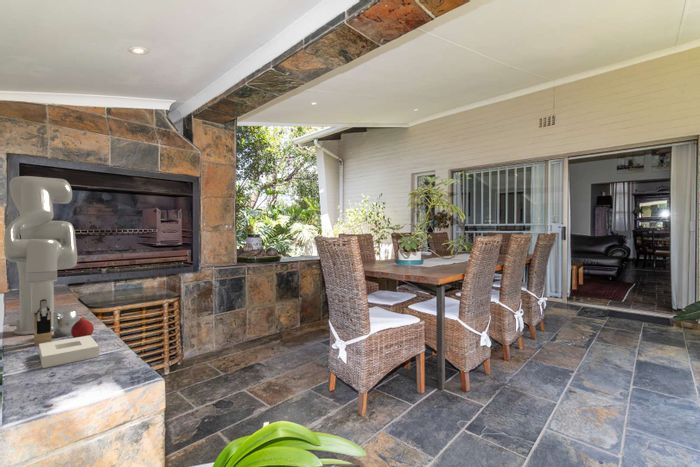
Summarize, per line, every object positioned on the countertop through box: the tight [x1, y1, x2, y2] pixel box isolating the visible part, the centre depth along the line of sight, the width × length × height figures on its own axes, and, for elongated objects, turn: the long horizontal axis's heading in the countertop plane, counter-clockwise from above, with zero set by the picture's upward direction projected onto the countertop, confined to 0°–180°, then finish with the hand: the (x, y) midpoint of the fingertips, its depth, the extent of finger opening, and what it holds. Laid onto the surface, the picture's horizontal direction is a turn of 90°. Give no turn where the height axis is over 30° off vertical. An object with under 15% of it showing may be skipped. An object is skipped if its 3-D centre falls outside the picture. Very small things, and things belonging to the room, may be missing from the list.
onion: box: [71, 316, 95, 338], centre depth 114 cm, size 6×6×8 cm
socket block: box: [38, 335, 100, 369], centre depth 100 cm, size 16×12×3 cm
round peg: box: [53, 309, 79, 338], centre depth 123 cm, size 7×7×8 cm
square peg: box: [33, 312, 52, 347], centre depth 113 cm, size 4×4×10 cm
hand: (42, 330), depth 113 cm, fingers open, 9 cm apart
